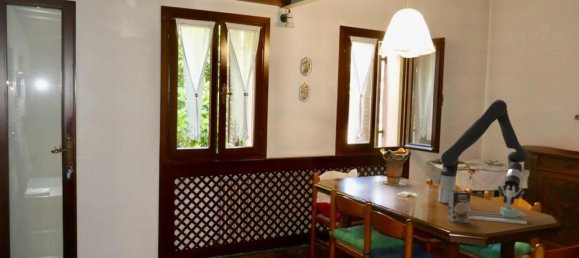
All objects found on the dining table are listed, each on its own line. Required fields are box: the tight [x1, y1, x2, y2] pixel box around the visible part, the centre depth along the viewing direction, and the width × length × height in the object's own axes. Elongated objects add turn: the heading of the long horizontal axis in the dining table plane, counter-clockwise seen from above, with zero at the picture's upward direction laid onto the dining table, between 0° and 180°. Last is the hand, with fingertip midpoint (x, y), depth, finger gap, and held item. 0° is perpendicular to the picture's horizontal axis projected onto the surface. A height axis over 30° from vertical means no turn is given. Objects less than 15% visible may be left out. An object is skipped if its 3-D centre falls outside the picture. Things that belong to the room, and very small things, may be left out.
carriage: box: [499, 190, 519, 218], centre depth 247 cm, size 7×7×14 cm
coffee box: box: [446, 189, 472, 224], centre depth 239 cm, size 9×6×16 cm
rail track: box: [468, 208, 528, 225], centre depth 248 cm, size 30×12×4 cm, turn 80°
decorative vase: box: [379, 147, 411, 187], centre depth 339 cm, size 21×23×28 cm
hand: (508, 203), depth 246 cm, fingers closed on carriage, 2 cm apart
